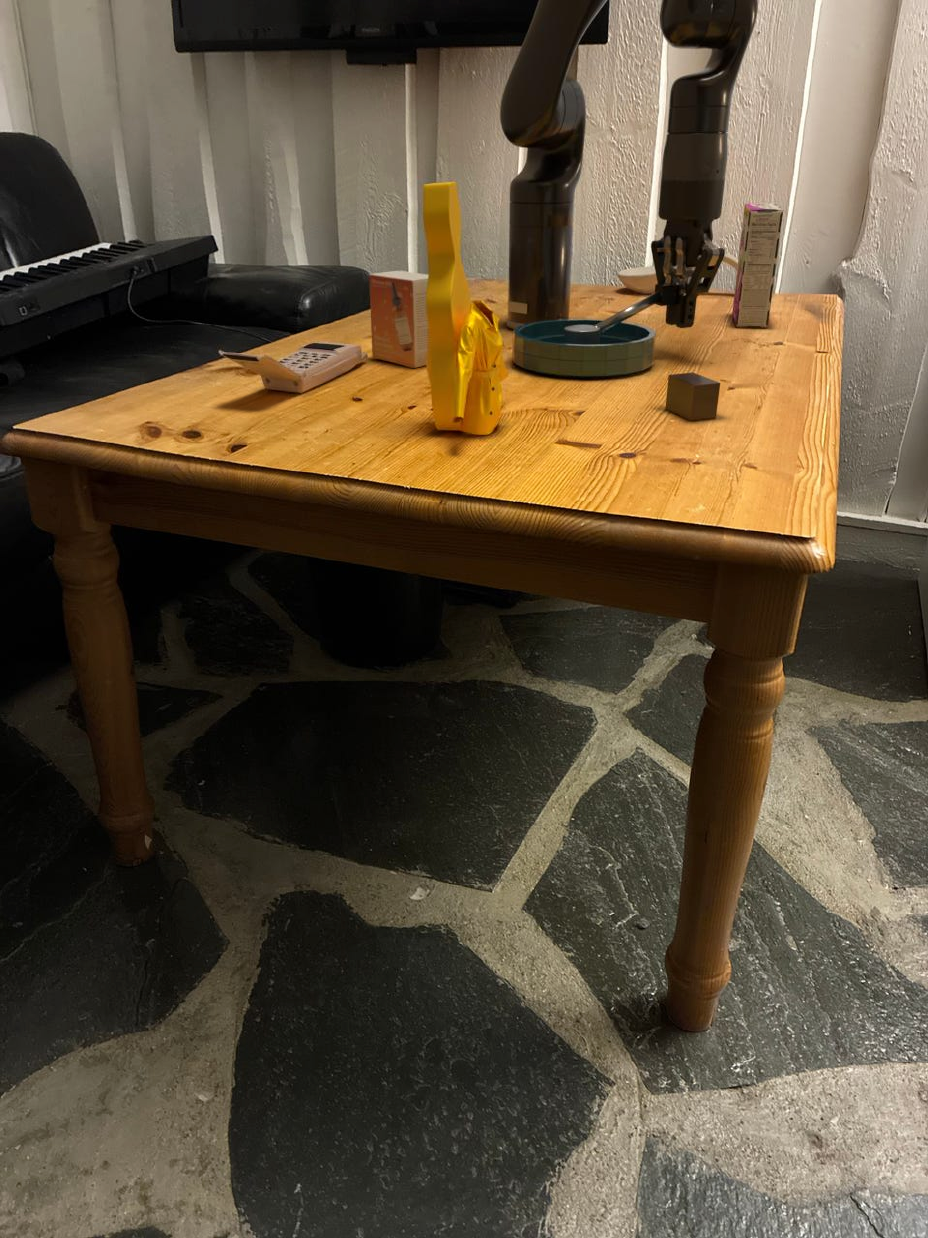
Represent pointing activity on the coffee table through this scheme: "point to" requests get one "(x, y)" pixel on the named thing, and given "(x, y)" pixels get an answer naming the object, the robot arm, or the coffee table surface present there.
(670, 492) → the coffee table surface
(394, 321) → the small box
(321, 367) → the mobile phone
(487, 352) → the figure statuette
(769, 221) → the candy bar box
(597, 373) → the bowl
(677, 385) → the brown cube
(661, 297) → the ladle
